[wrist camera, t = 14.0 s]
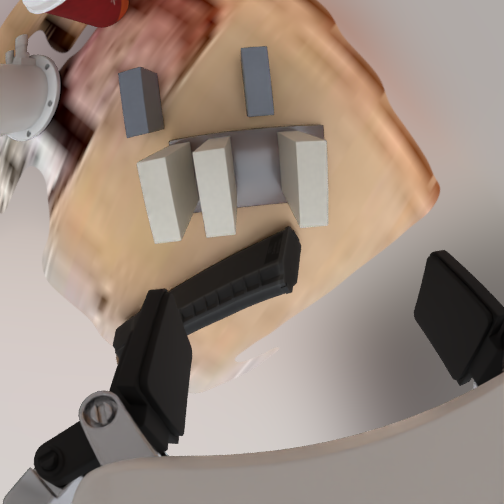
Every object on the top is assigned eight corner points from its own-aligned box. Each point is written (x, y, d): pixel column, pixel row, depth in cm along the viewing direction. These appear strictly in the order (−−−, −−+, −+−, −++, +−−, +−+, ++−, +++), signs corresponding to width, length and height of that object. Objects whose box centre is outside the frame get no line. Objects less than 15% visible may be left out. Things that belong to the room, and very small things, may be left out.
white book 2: (208, 138, 29) (192, 152, 20) (230, 136, 29) (224, 147, 20) (216, 198, 33) (206, 237, 23) (237, 195, 33) (235, 234, 23)
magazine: (323, 243, 27) (101, 401, 26) (336, 267, 28) (122, 415, 27) (265, 211, 43) (115, 324, 41) (276, 228, 44) (129, 337, 43)
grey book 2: (240, 59, 26) (240, 48, 21) (262, 57, 26) (267, 46, 21) (247, 116, 29) (248, 117, 24) (268, 114, 29) (274, 114, 24)
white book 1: (169, 145, 29) (136, 162, 20) (189, 141, 29) (165, 156, 20) (179, 202, 33) (154, 244, 23) (199, 200, 33) (181, 240, 23)
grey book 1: (138, 78, 26) (118, 73, 21) (157, 73, 26) (140, 66, 21) (145, 133, 30) (126, 138, 24) (164, 128, 30) (148, 132, 24)
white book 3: (277, 131, 29) (295, 141, 20) (298, 130, 29) (326, 140, 20) (281, 191, 33) (299, 228, 23) (302, 189, 33) (328, 225, 23)
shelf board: (171, 140, 30) (168, 141, 29) (320, 124, 30) (323, 125, 29) (183, 211, 34) (181, 214, 33) (323, 196, 34) (325, 199, 33)
